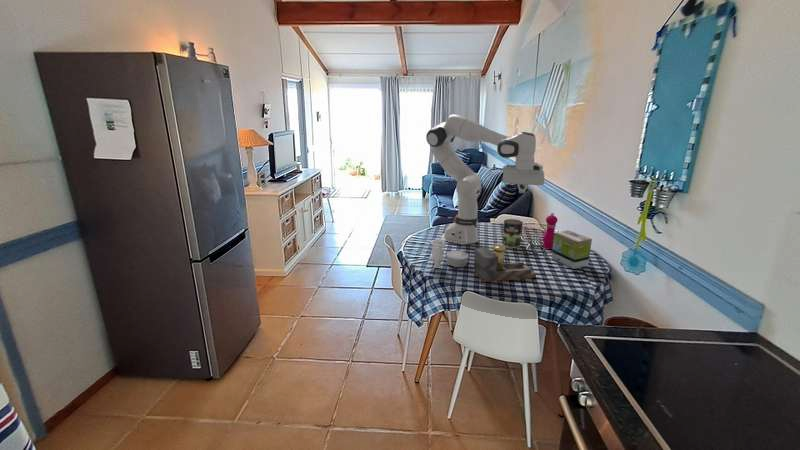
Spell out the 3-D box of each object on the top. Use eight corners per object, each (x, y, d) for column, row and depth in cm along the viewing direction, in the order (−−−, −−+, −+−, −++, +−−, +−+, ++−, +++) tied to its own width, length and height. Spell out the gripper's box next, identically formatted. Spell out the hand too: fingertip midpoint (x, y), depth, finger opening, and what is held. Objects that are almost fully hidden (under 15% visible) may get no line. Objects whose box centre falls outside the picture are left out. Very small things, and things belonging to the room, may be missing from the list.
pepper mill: (556, 249, 207) (560, 214, 201) (542, 248, 209) (546, 214, 203) (554, 245, 214) (558, 211, 208) (540, 244, 215) (544, 210, 209)
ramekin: (471, 268, 185) (471, 258, 183) (449, 269, 183) (449, 259, 181) (463, 259, 195) (464, 249, 194) (443, 260, 193) (443, 251, 192)
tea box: (550, 258, 195) (553, 232, 190) (564, 255, 199) (568, 229, 194) (573, 269, 182) (577, 241, 177) (588, 266, 185) (592, 238, 181)
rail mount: (482, 282, 169) (484, 258, 165) (473, 271, 180) (475, 248, 176) (536, 278, 172) (539, 254, 169) (524, 268, 184) (526, 245, 180)
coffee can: (519, 249, 208) (522, 225, 204) (500, 246, 212) (502, 223, 208) (521, 243, 217) (523, 220, 213) (503, 241, 221) (505, 218, 217)
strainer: (445, 270, 182) (446, 241, 177) (431, 271, 181) (432, 242, 177) (443, 264, 188) (443, 236, 184) (429, 265, 188) (429, 237, 183)
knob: (493, 274, 172) (495, 249, 168) (488, 269, 177) (490, 245, 174) (506, 273, 173) (508, 248, 169) (500, 268, 178) (502, 244, 175)
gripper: (502, 165, 187) (500, 192, 191) (545, 167, 179) (542, 195, 184) (503, 163, 192) (501, 190, 196) (546, 165, 185) (543, 192, 189)
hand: (521, 192), depth 190 cm, fingers closed
